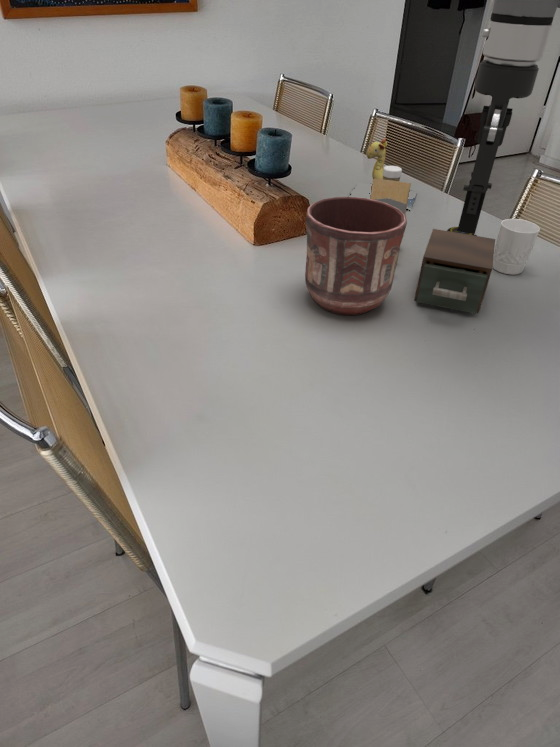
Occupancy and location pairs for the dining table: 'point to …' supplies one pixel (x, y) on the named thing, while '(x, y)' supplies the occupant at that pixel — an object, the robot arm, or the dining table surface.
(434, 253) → the cabinet
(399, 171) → the sprinkles bottle
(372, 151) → the stuffed giraffe
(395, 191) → the sandwich container
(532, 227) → the white cup
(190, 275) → the dining table surface
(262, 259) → the dining table surface
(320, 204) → the pottery
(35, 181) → the dining table surface
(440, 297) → the drawer
